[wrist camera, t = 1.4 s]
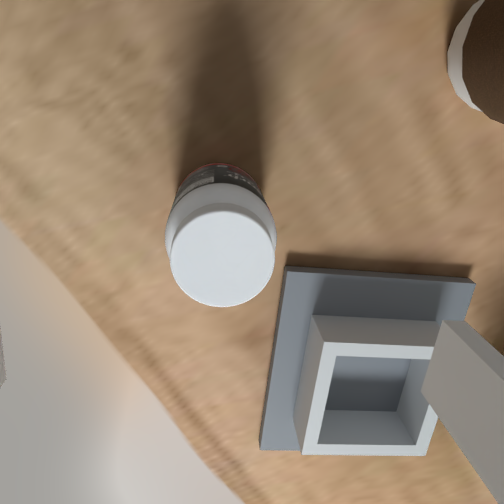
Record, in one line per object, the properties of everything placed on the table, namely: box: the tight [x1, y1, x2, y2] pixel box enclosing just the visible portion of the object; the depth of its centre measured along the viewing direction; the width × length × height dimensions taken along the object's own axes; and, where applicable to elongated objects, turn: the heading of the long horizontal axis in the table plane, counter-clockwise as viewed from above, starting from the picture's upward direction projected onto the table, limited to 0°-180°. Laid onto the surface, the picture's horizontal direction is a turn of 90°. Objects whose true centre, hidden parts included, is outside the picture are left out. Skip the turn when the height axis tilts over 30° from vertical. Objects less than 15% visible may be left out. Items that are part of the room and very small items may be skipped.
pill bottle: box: [165, 163, 277, 307], centre depth 23 cm, size 6×6×10 cm
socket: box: [259, 266, 476, 456], centre depth 31 cm, size 16×14×4 cm
